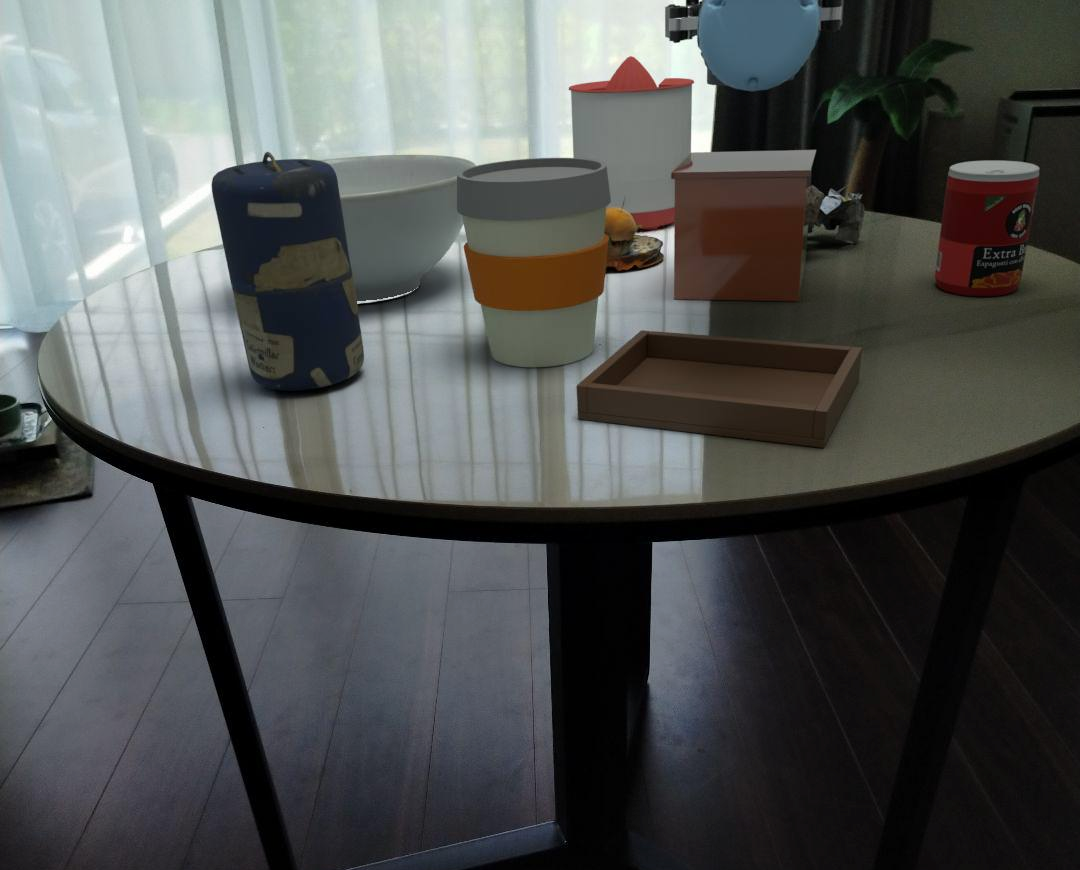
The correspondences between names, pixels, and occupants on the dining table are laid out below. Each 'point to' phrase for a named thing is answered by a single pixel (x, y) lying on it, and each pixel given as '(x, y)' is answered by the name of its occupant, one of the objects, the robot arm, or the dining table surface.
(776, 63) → the robot arm
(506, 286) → the reusable coffee cup
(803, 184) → the brown lidded box
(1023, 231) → the canned food
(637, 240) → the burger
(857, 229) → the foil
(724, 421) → the tray
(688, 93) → the citrus juicer
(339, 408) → the dining table surface
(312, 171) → the canister
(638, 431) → the dining table surface
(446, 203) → the decorative bowl
